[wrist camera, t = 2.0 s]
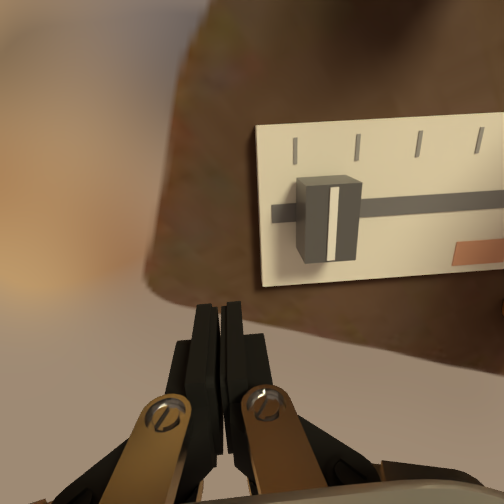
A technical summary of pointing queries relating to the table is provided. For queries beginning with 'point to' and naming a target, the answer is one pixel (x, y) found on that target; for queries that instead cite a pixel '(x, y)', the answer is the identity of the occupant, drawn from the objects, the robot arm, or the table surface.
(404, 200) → the fader console
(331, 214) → the fader knob
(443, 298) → the table surface
